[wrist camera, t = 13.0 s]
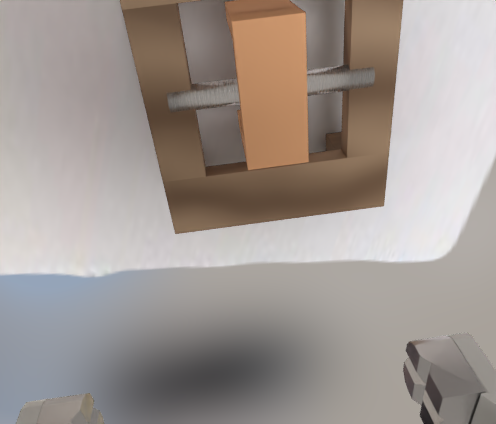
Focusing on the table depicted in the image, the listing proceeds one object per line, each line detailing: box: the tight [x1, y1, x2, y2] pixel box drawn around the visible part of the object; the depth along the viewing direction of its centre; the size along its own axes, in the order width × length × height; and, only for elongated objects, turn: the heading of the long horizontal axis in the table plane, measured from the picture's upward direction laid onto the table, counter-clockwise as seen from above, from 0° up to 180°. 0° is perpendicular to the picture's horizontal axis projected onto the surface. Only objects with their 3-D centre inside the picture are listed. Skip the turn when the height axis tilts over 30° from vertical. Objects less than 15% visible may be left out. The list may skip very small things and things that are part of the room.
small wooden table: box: [120, 0, 403, 234], centre depth 31 cm, size 20×16×10 cm
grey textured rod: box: [167, 65, 375, 112], centre depth 27 cm, size 2×13×2 cm, turn 96°
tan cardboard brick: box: [225, 0, 309, 170], centre depth 29 cm, size 9×4×8 cm, turn 6°
